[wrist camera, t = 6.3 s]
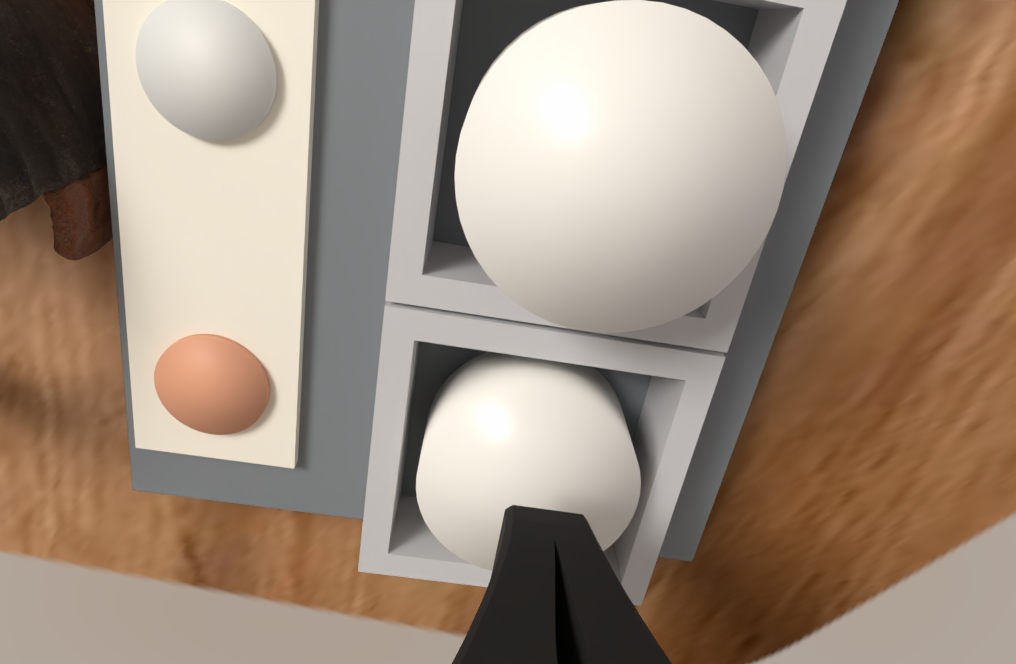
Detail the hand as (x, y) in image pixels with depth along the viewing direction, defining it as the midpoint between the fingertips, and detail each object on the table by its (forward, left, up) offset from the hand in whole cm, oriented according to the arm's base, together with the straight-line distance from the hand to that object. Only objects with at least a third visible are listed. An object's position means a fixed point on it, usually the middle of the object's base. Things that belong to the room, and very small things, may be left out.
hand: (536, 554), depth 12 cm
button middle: (0, -6, -2) cm, 7 cm away
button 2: (0, 0, -4) cm, 4 cm away
